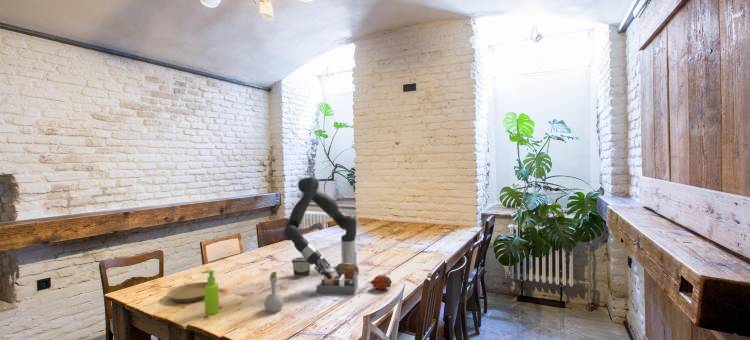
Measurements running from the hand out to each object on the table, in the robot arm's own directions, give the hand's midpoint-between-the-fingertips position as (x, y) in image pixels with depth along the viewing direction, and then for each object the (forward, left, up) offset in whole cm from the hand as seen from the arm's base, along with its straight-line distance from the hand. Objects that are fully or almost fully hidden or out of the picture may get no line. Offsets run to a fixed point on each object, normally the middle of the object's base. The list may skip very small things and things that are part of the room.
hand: (332, 276), depth 192 cm
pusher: (-4, +3, -6) cm, 8 cm away
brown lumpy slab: (-17, -14, -8) cm, 23 cm away
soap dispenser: (+60, -5, -8) cm, 61 cm away
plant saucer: (+65, -34, -8) cm, 74 cm away
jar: (+1, -1, -4) cm, 5 cm away
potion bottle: (+34, +8, -8) cm, 36 cm away
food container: (+4, -34, -8) cm, 35 cm away
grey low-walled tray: (-3, +2, -8) cm, 9 cm away
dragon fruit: (-23, +14, -8) cm, 28 cm away
